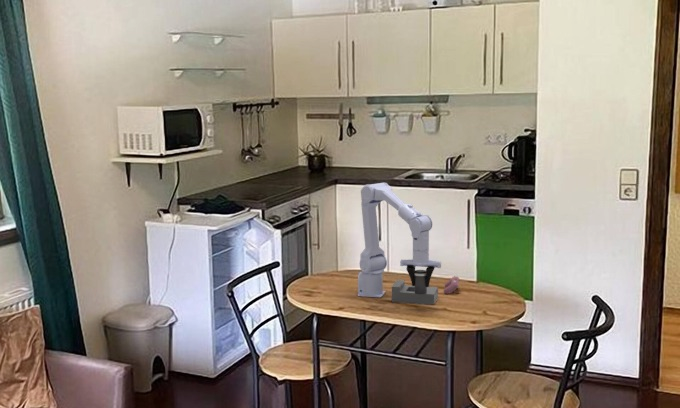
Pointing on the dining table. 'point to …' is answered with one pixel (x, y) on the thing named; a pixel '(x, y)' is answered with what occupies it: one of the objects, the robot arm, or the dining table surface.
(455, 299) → the dining table surface
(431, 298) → the camera body
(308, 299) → the dining table surface
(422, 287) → the lens
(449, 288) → the pink rounded piece
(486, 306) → the dining table surface
